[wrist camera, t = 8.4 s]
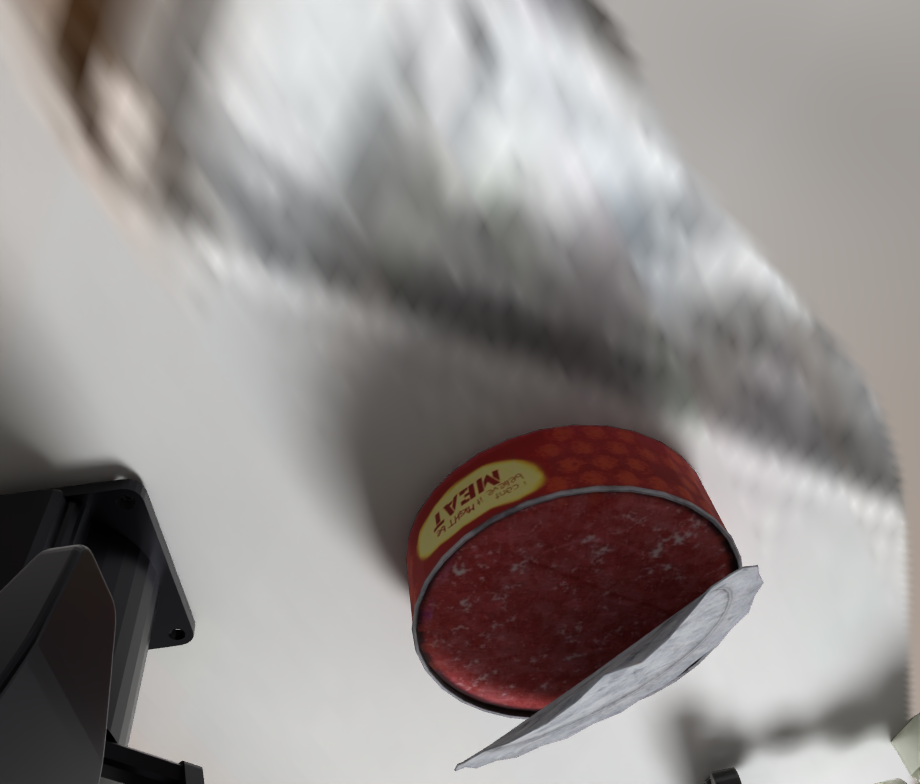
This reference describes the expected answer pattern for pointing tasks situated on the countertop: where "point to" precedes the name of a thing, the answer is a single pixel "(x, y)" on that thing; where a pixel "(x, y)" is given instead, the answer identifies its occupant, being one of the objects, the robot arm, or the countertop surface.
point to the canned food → (569, 580)
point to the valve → (916, 750)
